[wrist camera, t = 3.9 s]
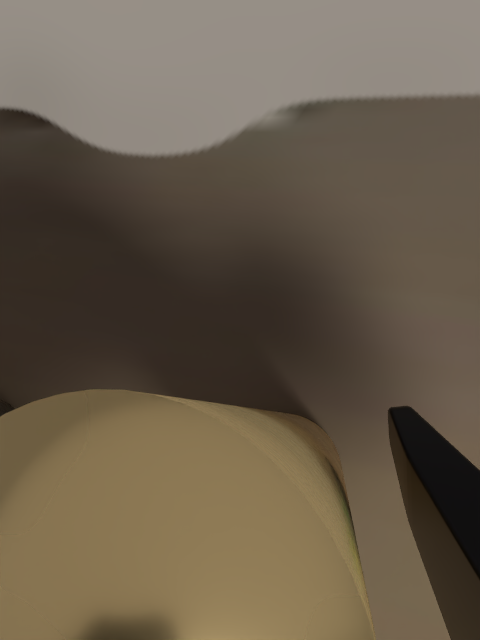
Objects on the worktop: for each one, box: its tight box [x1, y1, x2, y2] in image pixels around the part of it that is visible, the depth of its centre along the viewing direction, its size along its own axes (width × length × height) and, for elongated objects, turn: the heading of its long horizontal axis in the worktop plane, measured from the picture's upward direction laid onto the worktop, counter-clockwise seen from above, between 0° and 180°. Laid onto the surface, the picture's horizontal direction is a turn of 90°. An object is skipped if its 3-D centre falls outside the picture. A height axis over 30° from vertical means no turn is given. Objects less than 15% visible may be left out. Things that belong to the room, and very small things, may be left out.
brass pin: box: [0, 389, 376, 640], centre depth 9 cm, size 4×4×13 cm
